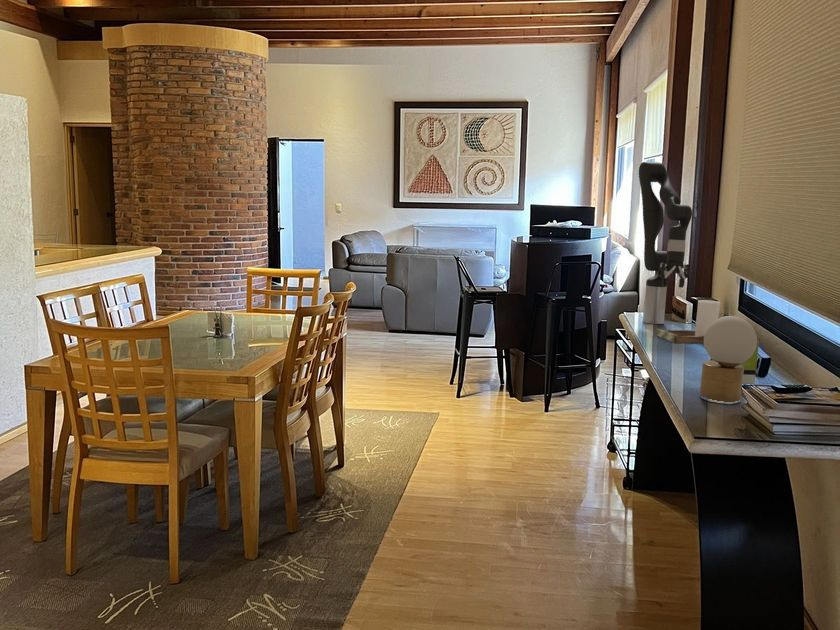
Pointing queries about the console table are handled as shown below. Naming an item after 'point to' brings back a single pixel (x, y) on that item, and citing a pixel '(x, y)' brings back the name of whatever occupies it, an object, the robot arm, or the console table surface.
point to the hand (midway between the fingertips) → (672, 287)
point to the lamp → (726, 357)
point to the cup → (705, 315)
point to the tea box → (749, 368)
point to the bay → (680, 336)
